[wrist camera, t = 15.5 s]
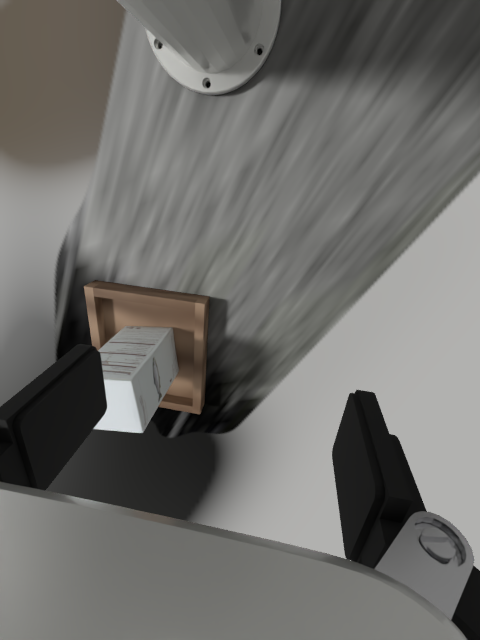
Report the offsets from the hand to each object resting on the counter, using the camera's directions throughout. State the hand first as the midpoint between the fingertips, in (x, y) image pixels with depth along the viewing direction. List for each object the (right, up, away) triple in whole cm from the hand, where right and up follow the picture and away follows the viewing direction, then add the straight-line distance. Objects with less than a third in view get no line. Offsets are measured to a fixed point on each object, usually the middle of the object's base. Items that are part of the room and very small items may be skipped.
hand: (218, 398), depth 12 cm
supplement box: (-12, -1, +34) cm, 36 cm away
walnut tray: (-12, -1, +34) cm, 36 cm away
